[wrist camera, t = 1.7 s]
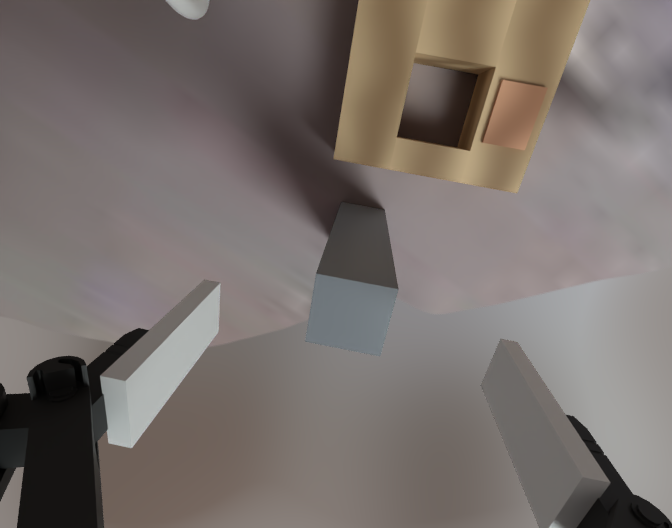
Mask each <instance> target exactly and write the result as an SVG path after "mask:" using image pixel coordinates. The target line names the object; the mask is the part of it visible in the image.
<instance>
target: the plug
mask: <svg viewBox="0 0 672 528" xmlns="http://www.w3.org/2000/svg"><path fill="white" fill-rule="evenodd" d="M397 293H398V284H397V279H396V273H395V267H394V261H393V255H392V250H391V244H390V238H389V232H388V226H387V221H386V215H385V210H382V209H377V208H372V207H366V206H361V205H356V204H350V203H345V202H341V204H340V207H339V210H338V213H337V216H336V218H335V221H334V224H333V227H332V230H331V233H330V236H329V238H328V241H327V244H326V247H325V250H324V253H323V256H322V258H321V261H320V264H319V267H318V270H317V273H316V278H315V284H314V290H313V296H312V303H311V309H310V315H309V321H308V328H307V334H306V340H305V341H306V342H310V343H315V344H320V345H325V346H330V347H336V348H341V349H346V350H351V351H356V352H361V353H366V354H371V355H376V356H380V355H381V351H382V348H383V344H384V340H385V337H386V333H387V329H388V325H389V322H390V318H391V314H392V311H393V307H394V303H395V300H396V296H397Z"/></svg>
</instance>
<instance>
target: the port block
mask: <svg viewBox="0 0 672 528" xmlns="http://www.w3.org/2000/svg"><path fill="white" fill-rule="evenodd" d="M589 2H590V0H359V2H358V8H357V15H356V21H355V27H354V34H353V40H352V46H351V52H350V59H349V65H348V71H347V77H346V84H345V90H344V96H343V103H342V109H341V115H340V121H339V128H338V134H337V140H336V146H335V153H334V159H335V160H341V161H346V162H352V163H357V164H362V165H368V166H373V167H378V168H384V169H389V170H394V171H400V172H405V173H411V174H416V175H421V176H427V177H432V178H437V179H443V180H448V181H454V182H459V183H464V184H470V185H475V186H480V187H486V188H491V189H497V190H502V191H507V192H513V193H517V192H518V190H519V187H520V184H521V182H522V179H523V176H524V174H525V171H526V168H527V166H528V163H529V161H530V158H531V155H532V153H533V150H534V147H535V145H536V142H537V139H538V137H539V134H540V132H541V129H542V126H543V124H544V121H545V118H546V116H547V113H548V110H549V108H550V105H551V102H552V100H553V97H554V95H555V92H556V89H557V87H558V84H559V81H560V79H561V76H562V73H563V71H564V68H565V66H566V63H567V60H568V58H569V55H570V52H571V50H572V47H573V44H574V42H575V39H576V36H577V34H578V31H579V29H580V26H581V23H582V21H583V18H584V15H585V13H586V10H587V7H588V5H589ZM413 63H418V64H423V65H429V66H434V67H440V68H445V69H451V70H456V71H462V72H467V73H473V74H478V78H477V81H476V85H475V88H474V91H473V95H472V98H471V102H470V105H469V109H468V112H467V115H466V119H465V122H464V126H463V129H462V132H461V136H460V139H459V143H458V146H457V147H453V146H447V145H442V144H437V143H431V142H426V141H420V140H415V139H409V138H404V137H399V136H397V134H398V129H399V125H400V121H401V116H402V112H403V107H404V103H405V98H406V94H407V89H408V85H409V80H410V76H411V72H412V67H413Z"/></svg>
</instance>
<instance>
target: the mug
mask: <svg viewBox="0 0 672 528" xmlns="http://www.w3.org/2000/svg"><path fill="white" fill-rule="evenodd" d="M166 1H167V3H168V4H169V5H170V6H171V7H172V8H173V9H174V10H175V11H176V12H177V13H179V14H180V15H182V16H184V17H185V18H188V19H193V20H197V19H199V18H201V17H203V16H204V15H205V13H206V12H207V10H208V7H209V1H210V0H166Z"/></svg>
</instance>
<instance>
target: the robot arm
mask: <svg viewBox="0 0 672 528" xmlns="http://www.w3.org/2000/svg"><path fill="white" fill-rule="evenodd" d="M219 306H220V283H219V282H214V281H209V280H204V281H202V282H201V283H200V284H199V285H198V286H197V287H196V288H195V289H194V290H193V291H192V292H190V293H189V294H188V295H187V296H186V297H185V298H184V299H183V300H182V301H181V302H180V303H179V304H177V305H176V306H175V307H174V308H173V309H172V310H171V311H170V312H169V313H168V314H167V315H165V316H164V317H163V318H162V319H161V320H160V321H159V322H158V323H157V324H156V325H155V326H154V327H152V328H151V329H150V330H145V329H140V328H138V329H136V330H133V331H131V332H129V333H127V334H125V335H123V336H122V337H121V338H120V339H119V340H117V341H116V342H115V343H114V345H112V346H110V347H109V348H108V349H107V350H106V352H103V353H102V354H101V355H100V356H99V357H97V358H96V359H95V360H94V361H93V362H91V363H90V364H89V365H88V366H86V363H85V361H84V360H83V359H81V358H79V357H74V356H62V357H56V358H53V359H49V360H46V361H44V362H42V363H40V364H39V365H37V366H36V367H34V368H33V369H32V370H31V371H30V372H29V374H28V376H27V381H28V386H29V390H30V393H28V394H27V393H24V394H6V392H5V389H4V387H3V385H2V384H1V383H0V501H1V499H2V497H3V494H4V492H5V490H6V488H7V486H8V484H9V482H10V480H11V477H12V475H13V473H14V471H15V469H16V467H24V473H23V481H22V489H21V498H20V506H19V515H18V523H17V528H104V520H103V506H102V492H101V478H100V465H99V450H98V442H97V441H98V440H99V439H100V438H101V436H102V435H103V434H104V433H105V432H106V431H107V434H108V443H110V444H115V445H120V446H124V447H129V448H132V447H133V446H134V444H135V443H136V442H137V440H138V439H139V438H140V436H141V435H142V434H143V432H144V431H145V430H146V428H147V427H148V426H149V424H150V423H151V422H152V420H153V419H154V418H155V416H156V415H157V413H158V412H159V411H160V409H161V408H162V407H163V406H164V404H165V403H166V402H167V400H168V399H169V397H170V396H171V395H172V393H173V392H174V391H175V389H176V388H177V387H178V385H179V384H180V383H181V381H182V380H183V379H184V377H185V376H186V375H187V373H188V372H189V371H190V369H191V368H192V367H193V365H194V364H195V363H196V361H197V360H198V359H199V357H200V356H201V355H202V353H203V352H204V351H205V349H206V348H207V347H208V345H209V344H210V343H211V341H212V340H213V339H214V337H215V336H216V335H217V333H218V331H219ZM481 387H482V390H483V392H484V395H485V397H486V400H487V402H488V404H489V407H490V409H491V412H492V414H493V416H494V419H495V421H496V424H497V426H498V429H499V431H500V433H501V436H502V439H503V441H504V443H505V446H506V448H507V451H508V453H509V456H510V458H511V460H512V463H513V465H514V468H515V470H516V472H517V475H518V477H519V480H520V482H521V485H522V487H523V490H524V492H525V494H526V496H527V499H528V502H529V504H530V507H531V509H532V511H533V514H534V516H535V518H536V521H537V524H538V526H539V528H672V523H671V522H670V521H669V519H668V518H667V517H666V516H665V515H664V514H663V513H662V512H661V511H660V510H659V509H658V508H656V507H655V506H654V505H652V504H651V503H650V502H648V501H647V500H645V499H643V498H641V497H639V496H637V495H633V494H632V492H631V491H630V489H629V488H628V487H627V485H626V484H625V482H624V481H623V479H622V478H621V476H620V475H619V474H618V472H617V471H616V469H615V468H614V467H613V465H612V464H611V462H610V461H609V459H608V458H607V456H606V455H604V452H603V451H602V449H601V448H600V447H599V445H598V444H596V441H595V439H594V438H593V437H592V435H591V434H590V432H589V431H588V430H587V428H586V427H584V426H583V425H582V424H581V423H580V422H579V421H578V420H577V419H576V418H575V417H574V416H569V415H565V413H564V412H563V410H562V409H561V407H560V406H559V404H558V403H557V401H556V400H555V399H554V397H553V395H552V394H551V392H550V391H549V389H548V388H547V386H546V385H545V383H544V382H543V380H542V379H541V377H540V375H539V374H538V372H537V371H536V369H535V368H534V366H533V365H532V363H531V362H530V360H529V359H528V357H527V356H526V354H525V353H524V351H523V350H522V348H521V347H520V345H519V344H518V343H517V342H514V341H509V340H504V339H500V341H499V344H498V346H497V348H496V351H495V353H494V355H493V358H492V360H491V363H490V365H489V367H488V370H487V372H486V374H485V377H484V379H483V381H482V383H481Z"/></svg>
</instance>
